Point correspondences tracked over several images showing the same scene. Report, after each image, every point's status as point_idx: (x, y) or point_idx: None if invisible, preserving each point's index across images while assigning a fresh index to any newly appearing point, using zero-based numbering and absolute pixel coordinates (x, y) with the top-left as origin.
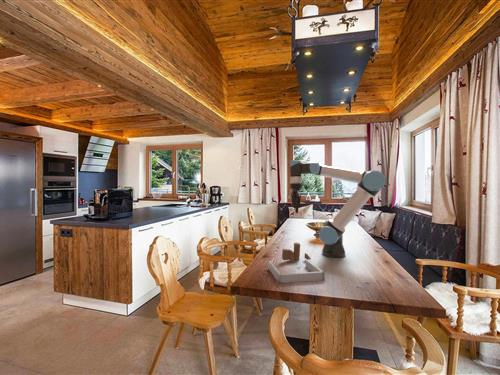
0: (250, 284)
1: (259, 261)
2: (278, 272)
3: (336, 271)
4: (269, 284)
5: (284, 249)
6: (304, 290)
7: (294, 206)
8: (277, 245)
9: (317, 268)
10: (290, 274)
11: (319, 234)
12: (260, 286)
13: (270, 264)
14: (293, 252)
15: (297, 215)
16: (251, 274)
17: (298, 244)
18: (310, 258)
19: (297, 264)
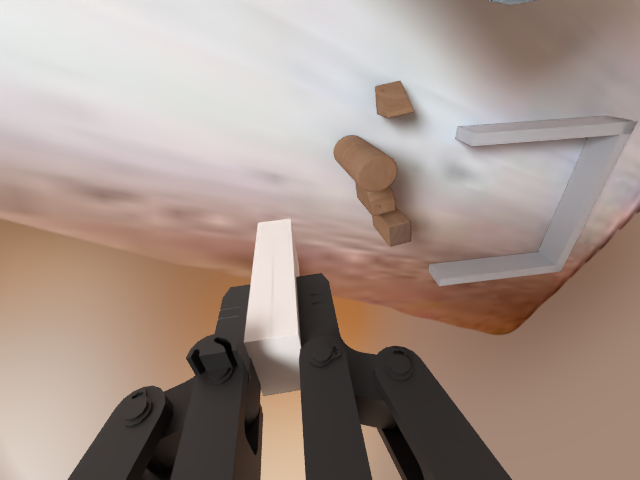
0: (513, 313)
1: (349, 290)
2: (542, 270)
3: (573, 3)
4: (535, 278)
5: (394, 238)
6: (618, 207)
7: (259, 422)
8: (48, 187)
9: (590, 134)
10: (575, 242)
11: (520, 3)
12: (534, 296)
13: (465, 282)
14: (389, 187)
15: (293, 249)
16: (455, 311)
17: (395, 170)
18: (402, 85)
19: (419, 165)
